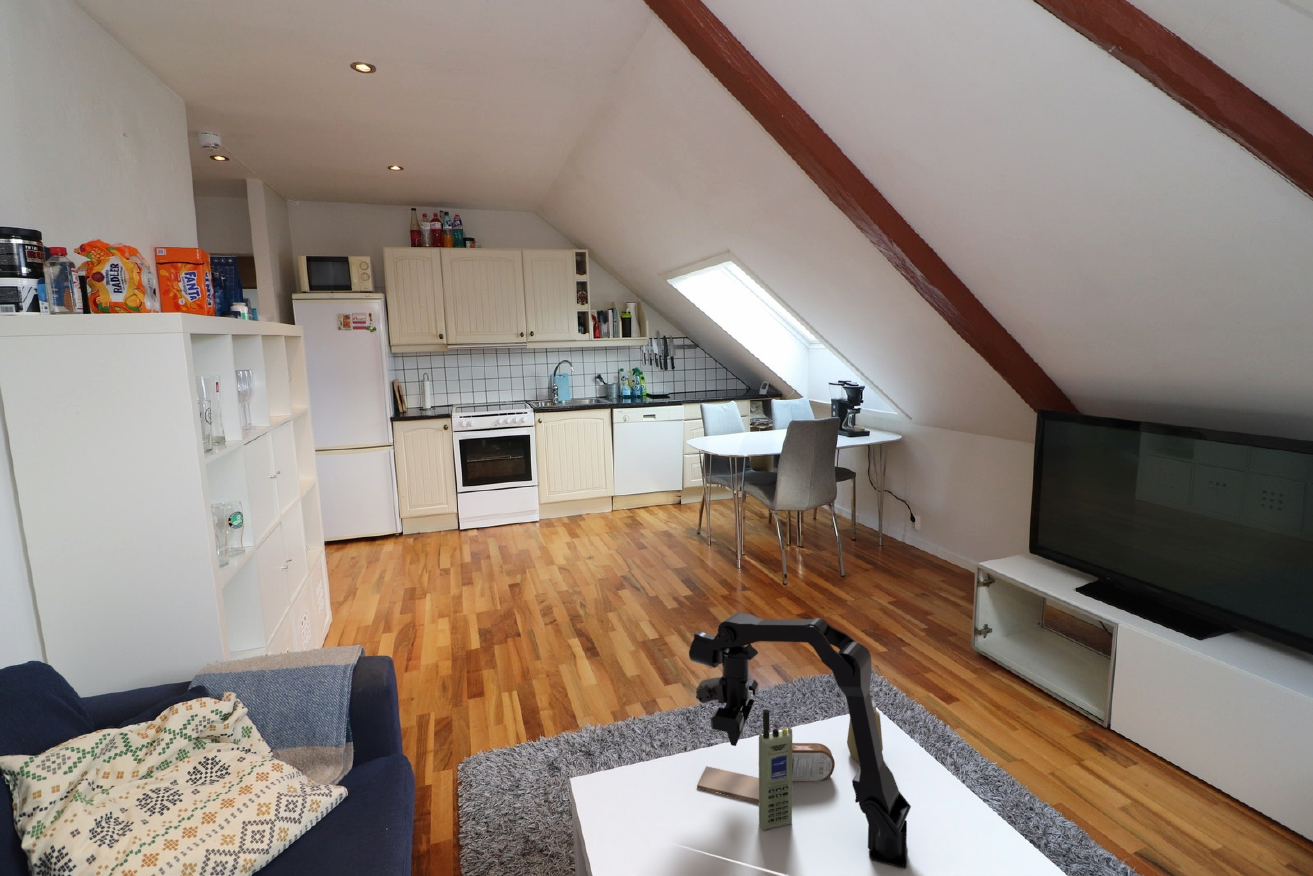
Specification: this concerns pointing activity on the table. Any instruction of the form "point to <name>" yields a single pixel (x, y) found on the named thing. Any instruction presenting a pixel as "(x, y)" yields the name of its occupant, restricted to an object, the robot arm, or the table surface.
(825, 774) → the tin
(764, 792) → the handheld radio
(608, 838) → the table surface
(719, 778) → the walnut board
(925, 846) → the table surface
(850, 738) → the squeeze bottle
